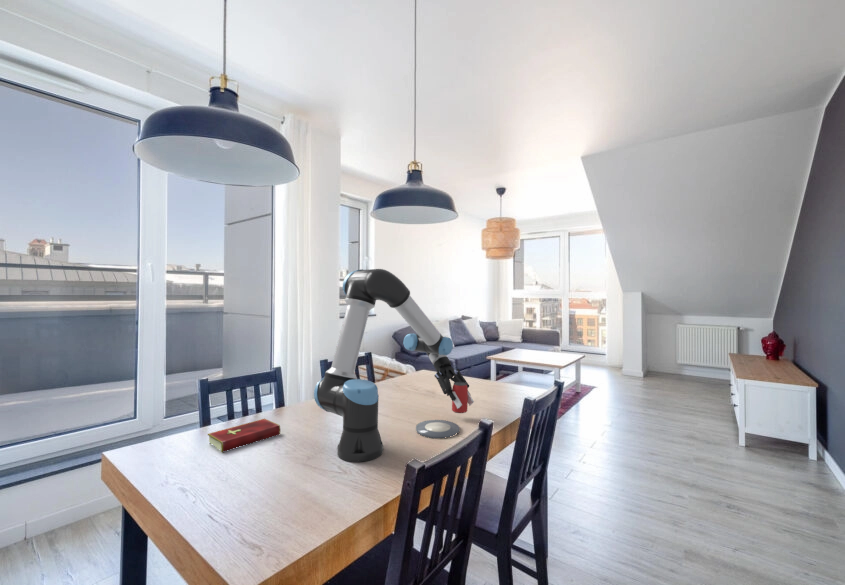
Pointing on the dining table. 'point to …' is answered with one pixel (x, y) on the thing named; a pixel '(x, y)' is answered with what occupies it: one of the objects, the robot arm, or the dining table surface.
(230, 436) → the hardcover book
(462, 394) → the beer can
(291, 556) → the dining table surface
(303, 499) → the dining table surface
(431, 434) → the plate
